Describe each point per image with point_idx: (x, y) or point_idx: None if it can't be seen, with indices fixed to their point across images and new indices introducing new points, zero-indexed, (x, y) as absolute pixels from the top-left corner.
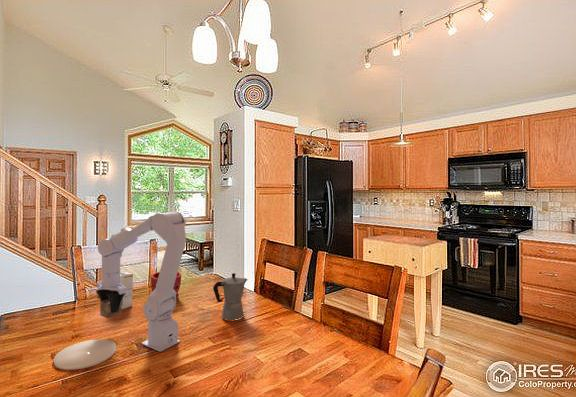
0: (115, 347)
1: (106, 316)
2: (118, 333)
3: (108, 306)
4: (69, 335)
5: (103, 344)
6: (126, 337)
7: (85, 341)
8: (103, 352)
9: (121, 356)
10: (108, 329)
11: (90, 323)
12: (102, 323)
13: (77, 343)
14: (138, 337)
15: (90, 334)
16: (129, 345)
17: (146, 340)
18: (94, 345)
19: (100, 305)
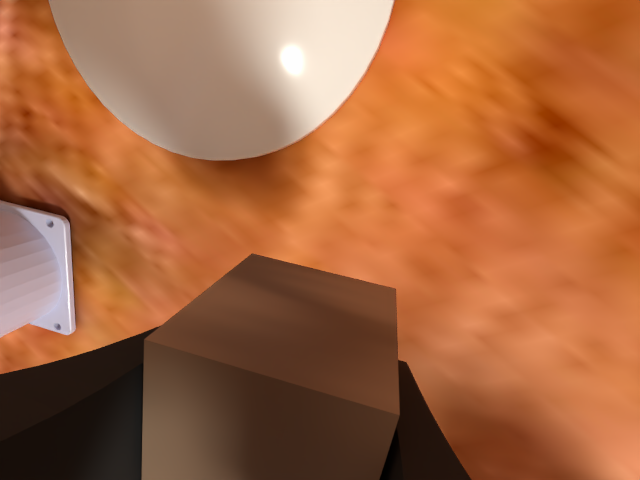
0: (104, 102)
1: (270, 265)
2: None
3: (176, 324)
4: (624, 132)
5: (198, 97)
6: (206, 255)
7: (350, 71)
8: (103, 15)
9: (40, 69)
10: (402, 306)
11: (631, 348)
12: (529, 369)
13: (380, 17)
14: (151, 276)
15: (461, 208)
16: (112, 185)
17: (63, 248)
18: (238, 59)
19: (391, 358)
